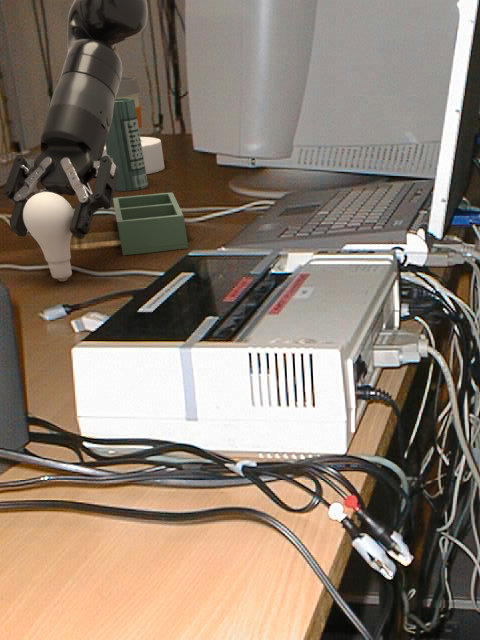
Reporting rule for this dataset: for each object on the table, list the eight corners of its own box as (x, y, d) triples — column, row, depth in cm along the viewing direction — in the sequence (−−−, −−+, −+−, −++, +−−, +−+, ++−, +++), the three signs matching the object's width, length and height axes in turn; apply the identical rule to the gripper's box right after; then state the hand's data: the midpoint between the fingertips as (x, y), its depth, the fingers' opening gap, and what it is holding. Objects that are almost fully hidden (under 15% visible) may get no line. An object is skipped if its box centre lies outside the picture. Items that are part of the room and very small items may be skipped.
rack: (188, 248, 128) (183, 215, 126) (123, 255, 126) (116, 222, 124) (177, 222, 143) (172, 192, 141) (118, 228, 141) (112, 197, 139)
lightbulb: (45, 290, 113) (24, 199, 107) (33, 280, 117) (12, 192, 112) (93, 282, 116) (75, 192, 110) (80, 271, 120) (62, 185, 114)
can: (126, 183, 173) (111, 98, 165) (153, 184, 171) (139, 98, 163) (107, 190, 168) (91, 102, 160) (135, 191, 166) (119, 102, 158)
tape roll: (162, 161, 193) (158, 133, 191) (167, 173, 180) (163, 143, 177) (86, 167, 190) (81, 139, 187) (86, 180, 177) (80, 150, 174)
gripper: (13, 101, 114) (-21, 215, 111) (112, 100, 110) (80, 219, 107) (48, 139, 121) (16, 248, 118) (142, 140, 117) (112, 252, 114)
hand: (46, 234), depth 112 cm, fingers open, 8 cm apart
